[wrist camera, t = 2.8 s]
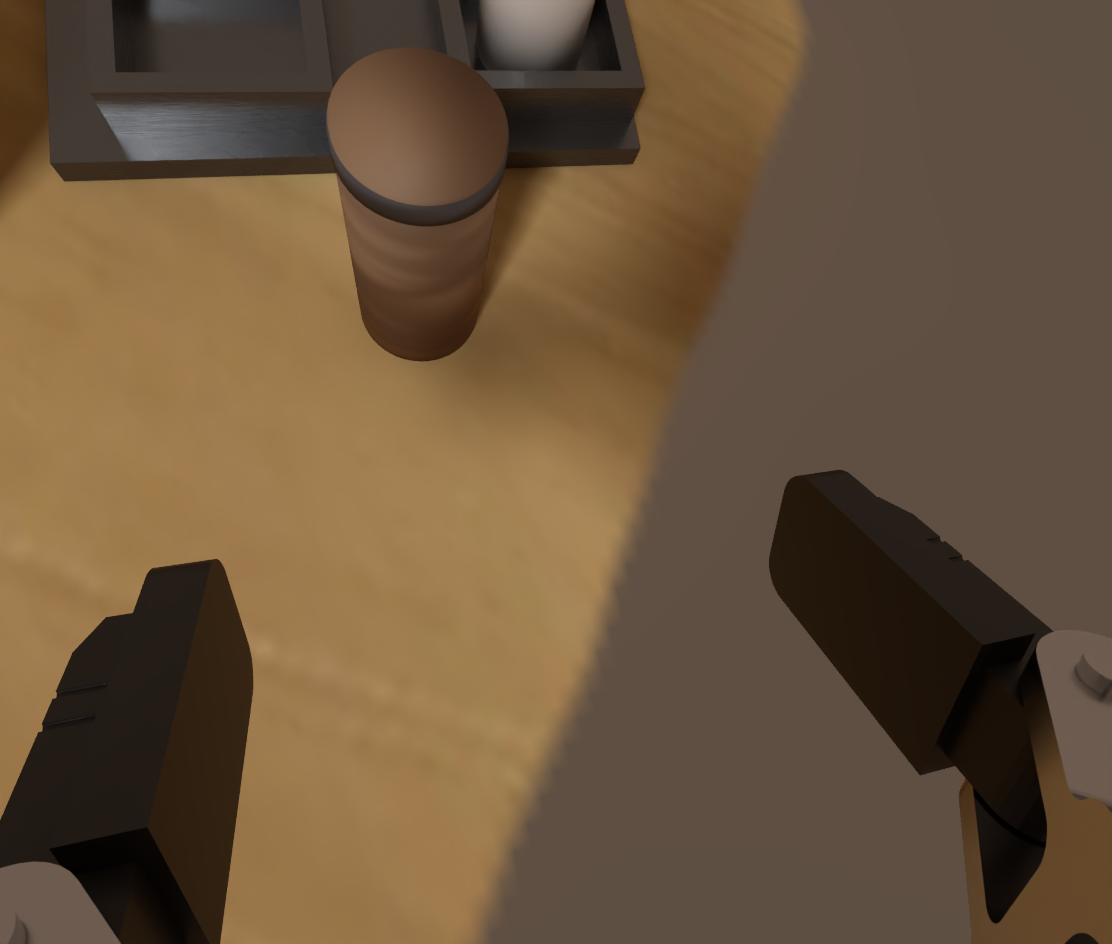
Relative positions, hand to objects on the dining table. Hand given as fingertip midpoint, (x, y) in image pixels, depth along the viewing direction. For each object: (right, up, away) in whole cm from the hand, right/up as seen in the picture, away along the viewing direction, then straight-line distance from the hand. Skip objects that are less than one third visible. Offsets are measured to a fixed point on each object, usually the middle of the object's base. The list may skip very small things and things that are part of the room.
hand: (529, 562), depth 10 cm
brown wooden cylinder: (-5, +8, +17) cm, 19 cm away
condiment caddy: (-8, +18, +19) cm, 27 cm away
